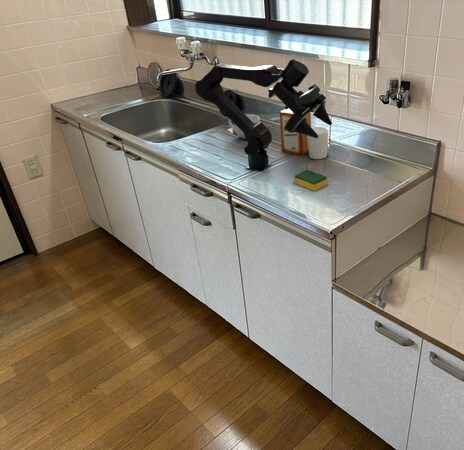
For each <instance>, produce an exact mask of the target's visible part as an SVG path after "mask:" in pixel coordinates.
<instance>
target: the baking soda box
mask: <svg viewBox="0 0 464 450" xmlns="http://www.w3.org/2000/svg"><path fill="white" fill-rule="evenodd" d="M293 115H294V113H293V112H292V111H291V110H290V109H287V110H286V109H285V108H284V109H283V110H282V109H281V111H279V123H280V141H281V152H284V153H289V154H293V155H297V156H301V157H303V156H305V155H306V154H309V149H308V141H307V135H305V134H301V133H297V132H294V133H293V131H294V130H292V131H291V132H290V133H289V132H288V131H287V130H286V128H285V124H286V123H287V122H288V120H289V119H290V117H291V116H293ZM305 117H306V120H307V123H308V125H309V126H310V127H311V128H312V112H309V113H308V114H307V115H306V116H305ZM305 117H304V118H305ZM304 118H302V119H304Z"/></svg>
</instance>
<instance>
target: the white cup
mask: <svg viewBox="0 0 464 450" xmlns="http://www.w3.org/2000/svg"><path fill="white" fill-rule="evenodd" d="M311 128H312V129H313V130H314V131H315V132H316V133H317V135H318V138H313V137H311V136H308V135H307V141H308V149H309V152H308V156H309V158H311V159H313V160H321V159H322V160H323V159H325V158H327V157H328V146H329V129H328V128H327V127H324V126H315V127H314V126H311Z"/></svg>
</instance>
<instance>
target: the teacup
mask: <svg viewBox="0 0 464 450" xmlns="http://www.w3.org/2000/svg"><path fill="white" fill-rule="evenodd" d="M245 115H246V116H247V117H248V118H249V119H250V120H251V121H252V122H253V123H255V124H259V123H260V121H261V120H260V119H261V117H260V116H259V115H257V114H253V113H252V114H245ZM227 122H228V126H229V127H230V128H232V129H233V130H234V131H235V133H236V135H237V136H238V137H240V138H241V139H243V140H246V138H245V135H244V133H243V132H242V131H241V130H240V129H239V128H238V127H237V126H236V125H235V124H233V122H232V121H231V120H230V119H229V118H228V121H227Z"/></svg>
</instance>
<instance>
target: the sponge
mask: <svg viewBox="0 0 464 450" xmlns="http://www.w3.org/2000/svg"><path fill="white" fill-rule="evenodd" d="M294 184H296V185H298V186H300V187H303V188H306V189H308V190H311V191H314V192H315V191H318V190H320V189H322V188H323V187H325V186H327V185H328V176H326V175H324V174H322V173H319V172H315V171H312V170H309V169H305V170H302V171H300V172H299V173H296V174H295V175H294Z"/></svg>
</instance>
